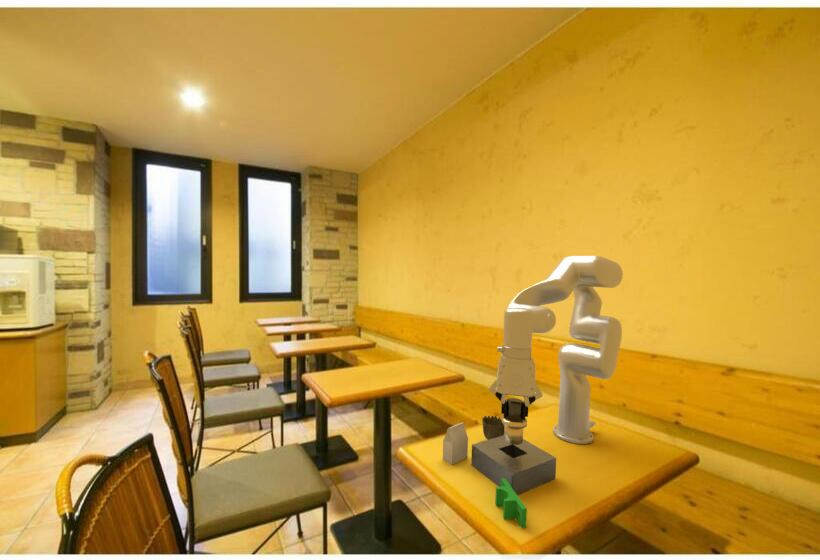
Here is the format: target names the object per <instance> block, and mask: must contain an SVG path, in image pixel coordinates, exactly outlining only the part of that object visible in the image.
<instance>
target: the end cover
mask: <svg viewBox="0 0 820 560" xmlns="http://www.w3.org/2000/svg"><path fill="white" fill-rule="evenodd" d="M506 401H507V414H506V418H504V414H502V415H501V418H500V419H501V422H502V424H503V425H505V428H504V440H505V441H506V442H507V443H509V444H513V445H520V444H522V443H523V439H524V429H525V428H527V426H528V419H527V417H525V421H523V420H522V417H523V402H524V400H522V399H519V398H514V397H511V398H506Z"/></svg>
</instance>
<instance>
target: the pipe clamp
mask: <svg viewBox="0 0 820 560" xmlns="http://www.w3.org/2000/svg"><path fill="white" fill-rule="evenodd" d="M494 504H495V506H496V507H499V508H502V510H503V513H502V519H503V520H505V521H506V520H514V519H515V520H516V522H517V523H518V525H519V527H520V529H525V528H527V511H528V508H527V507H526V505H525V504H524V503H523V501H522V500H521V499H520V497H519V495H517V494H516V493H515V491H514V490H513V489H512V487H511V486H510V484H509V483H508V482H507V480H506V479H505V478H503V479H501V487H499V486H495V500H494Z"/></svg>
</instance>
